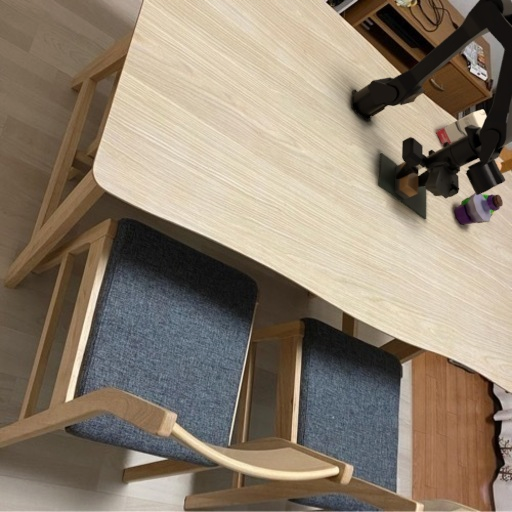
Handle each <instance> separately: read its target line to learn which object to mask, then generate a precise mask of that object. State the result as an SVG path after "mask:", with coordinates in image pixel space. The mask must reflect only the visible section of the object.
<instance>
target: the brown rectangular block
mask: <svg viewBox="0 0 512 512" xmlns="http://www.w3.org/2000/svg"><path fill="white" fill-rule="evenodd" d="M405 163H406V162H405V161H403V162H401V163H399V164H397V165H398V166H396V167H395V192H396V193H397V194H398V195H400V196H401V197H402V198H404V199H407V198H409V197H411V196H413V195H416V194H418V176H419V174H415V173H412V174H409V175H407V176H405V177H403V178H400V179H396V175H397V174H398V172H399V171H400V170H401V168H402V167H403V166H404V164H405Z"/></svg>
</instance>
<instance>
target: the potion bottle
mask: <svg viewBox="0 0 512 512" xmlns="http://www.w3.org/2000/svg"><path fill="white" fill-rule="evenodd" d="M483 195H484V194H483V193H481V194H479V195H476V193H475V192H474V193H473V194H472V195H470V196H468V197H466V198H464V199H462V201H461V203H460V204H459V205H458V206H455V207H454V209H453V214H454V217H455V220H456V222H458V224H459V225H461V226H465V225H471V224H483V223H489V222H490V221H491V218H492V216H491V211H490V210H492V211H495V212H496V211H498V210H500V208H501V207H502V206H503V205H504V203H503V199H502V196H501V195H500V194H493V193H491V194H488V195H489V196H487V200H486V199H485V198H484V197H483Z"/></svg>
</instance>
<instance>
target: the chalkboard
mask: <svg viewBox="0 0 512 512" xmlns="http://www.w3.org/2000/svg"><path fill="white" fill-rule="evenodd" d="M398 165H399V164H397V163H396V162H395V161H393V160H392V159H391V158H389V157H388V156H387V155H385V154H384V153H383V152H380V153H379V163H378V180H377V182H378V183H377V186H378V187H380V188H381V189H383V190H384V191H385V192H386V193H388V194H389V195H391V196H392V197H393V198H395V199H396V200H397V201H398V202H400V203H401V204H403V205H404V206H405V207H407V208H408V209H409V210H411V211H412V212H414V213H415V214H416V215H418V216H419V217H420V218H421V219H423V220H426V219H427V190H426V188H425V186H423V187H418V194H416V195H413V196H411V197H409V198H407V199H404V198H402V197H401V196H400V195H398V194H397V193H396V192H395V167H396V166H398Z"/></svg>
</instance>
